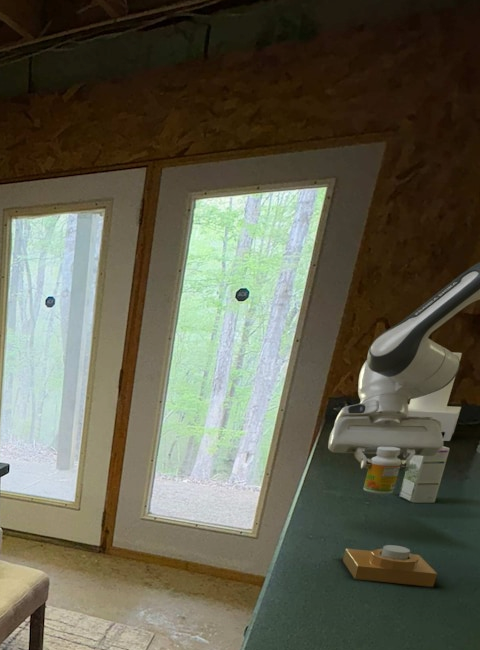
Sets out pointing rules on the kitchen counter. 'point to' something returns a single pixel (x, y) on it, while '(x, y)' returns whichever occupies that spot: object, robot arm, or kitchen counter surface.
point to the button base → (389, 568)
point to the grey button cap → (395, 552)
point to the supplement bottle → (383, 471)
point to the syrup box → (424, 477)
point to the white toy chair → (437, 408)
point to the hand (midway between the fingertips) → (384, 468)
